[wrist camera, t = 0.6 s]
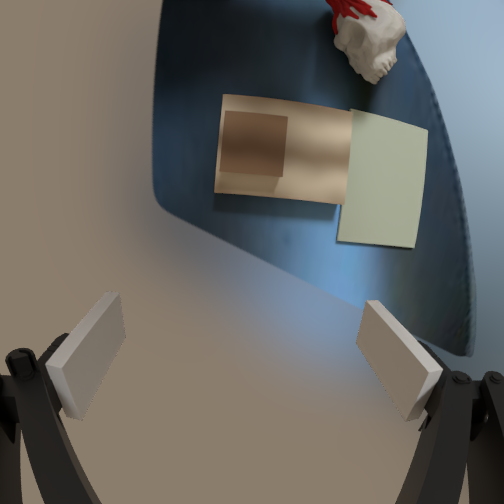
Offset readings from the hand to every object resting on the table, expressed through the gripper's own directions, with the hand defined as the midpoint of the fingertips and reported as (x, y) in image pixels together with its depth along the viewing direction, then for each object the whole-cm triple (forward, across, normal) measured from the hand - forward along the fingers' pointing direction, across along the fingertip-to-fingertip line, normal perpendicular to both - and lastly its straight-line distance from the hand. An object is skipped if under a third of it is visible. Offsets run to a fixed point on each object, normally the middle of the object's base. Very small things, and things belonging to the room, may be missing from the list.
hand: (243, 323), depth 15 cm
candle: (+25, +15, +29) cm, 41 cm away
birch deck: (+24, +5, +10) cm, 27 cm away
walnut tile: (+22, +1, +10) cm, 24 cm away
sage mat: (+24, +20, +8) cm, 33 cm away
